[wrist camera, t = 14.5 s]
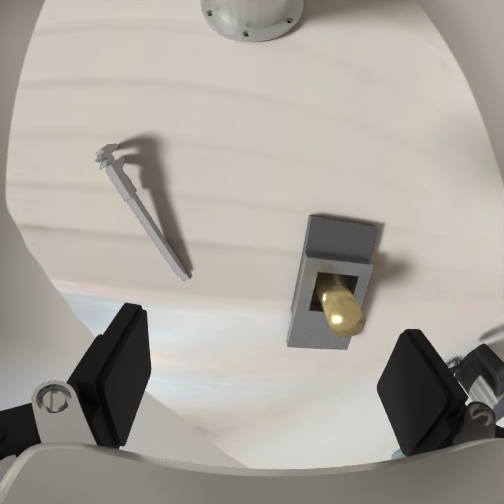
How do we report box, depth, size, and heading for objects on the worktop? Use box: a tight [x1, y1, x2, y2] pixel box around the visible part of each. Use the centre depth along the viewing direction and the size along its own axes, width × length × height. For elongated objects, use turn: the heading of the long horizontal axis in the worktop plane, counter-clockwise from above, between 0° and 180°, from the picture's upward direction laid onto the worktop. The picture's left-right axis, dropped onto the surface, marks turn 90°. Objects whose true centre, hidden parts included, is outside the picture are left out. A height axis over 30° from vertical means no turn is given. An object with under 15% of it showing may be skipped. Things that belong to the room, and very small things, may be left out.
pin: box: [314, 272, 365, 338], centre depth 36 cm, size 4×4×10 cm
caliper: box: [94, 144, 190, 281], centre depth 34 cm, size 20×1×6 cm, turn 25°
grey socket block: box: [286, 215, 378, 350], centre depth 39 cm, size 18×9×3 cm, turn 173°
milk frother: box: [450, 344, 504, 422], centre depth 41 cm, size 14×16×15 cm
